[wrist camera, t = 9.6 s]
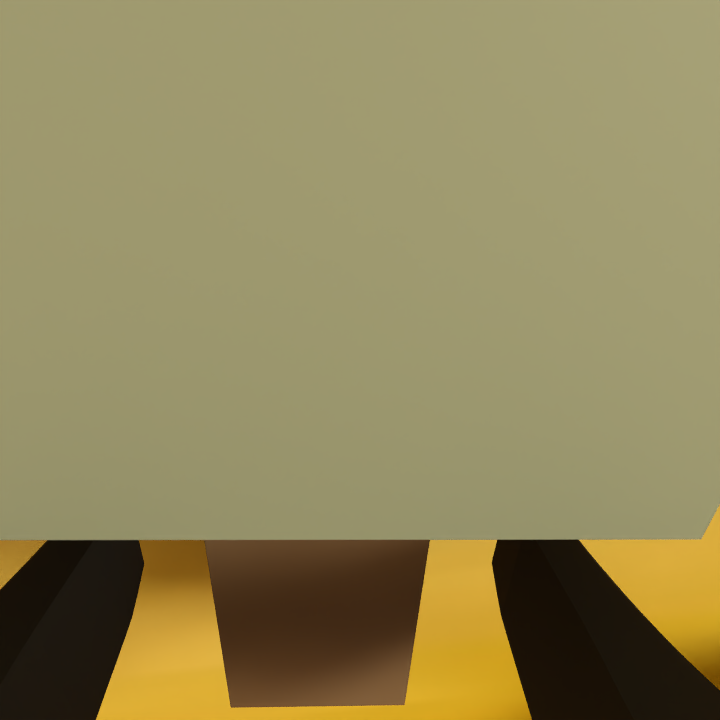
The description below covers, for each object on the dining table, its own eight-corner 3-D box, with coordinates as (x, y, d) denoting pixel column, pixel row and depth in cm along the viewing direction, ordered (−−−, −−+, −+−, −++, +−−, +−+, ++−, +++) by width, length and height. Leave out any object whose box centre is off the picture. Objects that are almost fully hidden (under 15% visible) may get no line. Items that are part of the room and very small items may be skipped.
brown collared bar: (445, 561, 17) (479, 741, 13) (195, 562, 17) (151, 746, 13) (538, 52, 10) (674, 106, 6) (103, 34, 10) (-67, 78, 6)
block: (559, 319, 13) (700, 539, 8) (79, 310, 12) (-96, 540, 7) (687, -185, 8) (1209, -422, 3) (-57, -230, 8) (-746, -588, 3)
